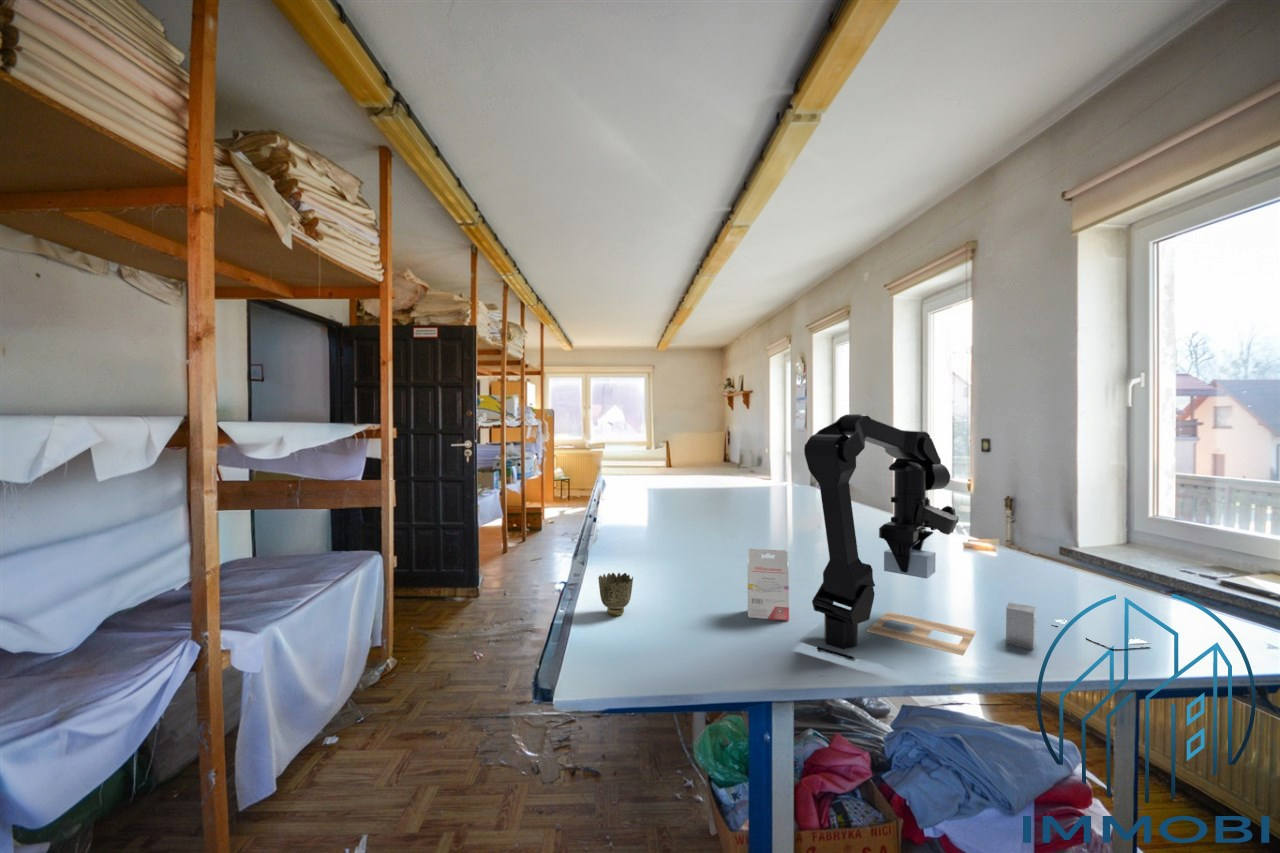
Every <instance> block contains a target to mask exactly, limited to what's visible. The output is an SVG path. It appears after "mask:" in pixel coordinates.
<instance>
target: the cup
mask: <svg viewBox="0 0 1280 853" xmlns="http://www.w3.org/2000/svg"><path fill="white" fill-rule="evenodd" d="M633 582H634V576H632V577H631V578H630V574H627V573H626V572H624V573H623V574H621V572H618V573H617V574H615V573H614V572H612V573H610V572H608V573H607V575H606V574H605V573H603V575H600V574H599V577H598V586H599V587H598V588H599V595H600V596H599V597H600V600H601V602H602V605H604V607H606V608H607V610H606V612H607V614H608V615H609V616H612V617H619V616H621V615H623V614H624V612H625V609H624V608H625V607H626V606H628V605H629V604H630V601H631V597H632V590H633Z"/></svg>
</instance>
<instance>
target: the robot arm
mask: <svg viewBox="0 0 1280 853" xmlns="http://www.w3.org/2000/svg"><path fill="white" fill-rule="evenodd" d="M866 442H868V443H870V444H873V445H875V446H878V447H882V448H884V452H885V454H888V455H889V456H890V457H892V458H894V459H895V461H894V462H893V463H892V464H890V465H889V467H888V470H889V471H892V472H894V474H893V476H894V477H893V478H894V479H893V489H894V490H893V496H891V497H890V502H891V503H893V516H891V517H890V521H888V522H886V523H883V525H881V526H879V528H878V538H879V539H882V540H884V541H886V543H887V545H888V547H889V549H891V551H892V553H893V555H894V557H895V559H896V562H897V564H898V566H899V568H900V570H901V572H905V573H906V572H908V567H909V562H910V556H911V551H912V549H916V550H922V548H923V545H924V542H925V540H926V539H927V538H929V537H931V535H933V534H934V531H936V530H938V531H939V532H940V533H942V534H944V535H947V536H948V535H951V534H952V533H953V532H954V531H955V528H956V526H957V524H958V523H959V520H960V518H959V515H957V514H956V508H955V507H952V506H950V505H945V506H944V507H942V508H941V509H940V508H939V507H934V506H932V505H931V500H930V499H929V497H928V496H927V497H926V491H935V490H941V489H944V488H946V487H947V486H948V485H949V484H950V482H951V474H950V472H949V471H950V470H948V467H946V465H944V464H942V461H941V457H940V455H939V453H938V451H937V449H936V445H935V443H934V441H933V439H932V438H931V436H930V434H929V433H928V432H927V431H923V430H905V429H904V430H903V429H899V428H897V427H894V426H892V425H889V424H887V423H884V422H882V421H879V420H876V419H874V418H872V417H870V416H869V415H866V414H865V413H864V414H860V413H859V414H855V413H854V414H844V415H842V416H841V417H839V418H838V419H837V420H836V421H835V422H833V423H831V424H829V425H827V426H825V427H823V428H821V429H819V430H818V431H817V432H816V433H815V434H813V435H811V436H810V437H809V438H808V440H807V442H806V443H805V444H804V448H803V451H804V457H805V460H806V461H805V462H806V464H807V465H806V466H807V468H808V471H809V473H811V475H812V476H813V479H814V480H816V482H817V483H818V485H819V491H820V498H821V504H822V512H823V519H824V527H825V534H826V535H825V536H826V542H827V549H828V556H829V560H828V561H827V564H826V566H825V568H824V570H823V573H822V578H823V579H822V583H821V585H820V587H819V588H818V590H817V592H816V593H815V595H814V596H813V598H812V600H811V603H812V607H813V611H814V612H818V613H821V614H824V615H823V617H824V619H823V620H824V626H823V627H824V628H823V633H824V634H823V636H824V637H823V638H824V639H823V640H824V642H825V646H831V647H834V648H836V649H841V650H845V649H852V648H853V649H854V648H856V647H857V646H858V644H859V643H858V641H859V631H858V630H859V624H862V623H864V622H867V621H870V618H871V614H872V609H873V603H874V599H875V591H874V590H875V589H874V587H876V584H875V581H874V577H873V574H874V573H873V571H874V570H873V568H872V565H871V564H868V563H865V562H864V563H863V562H862V561H861V559H860V558H859V557H860V556H859V551H858V545H857V544H858V543H857V537H856V536H857V535H856V529H855V528H856V526H855V520H854V513H853V506H852V505H853V504H852V497H851V489H850V480H851V478H852V476H853V474H854V472H855V470H856V469H857V468H856V467H857V457H858V456H859V454H861V452H862V451H863V450H864V449H865V447H866ZM928 528H930V531H929V530H927V529H928ZM834 603H837V604H840V605H843V606H845V607H848V608H849V609H848V608H845V607H843V606H839V605H837V604H834ZM850 608H851V609H850ZM816 649H817V650H819V651H822V652H826V653H828V654H833V655H836V656H840V657H842V658H847V659H849V660H854V659H855V658H856V657H855V656H852V655H848V654H844V653H841V652H837V651H834V650H831V649H827V648H824V647H821V646H820V647H819V646H816Z"/></svg>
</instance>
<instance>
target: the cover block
mask: <svg viewBox="0 0 1280 853" xmlns="http://www.w3.org/2000/svg"><path fill="white" fill-rule="evenodd" d="M883 571H884V572H889V573H895V574H899V575H905V576H910V577H917V578H921V579H929V578H930V577H931V576H933V575H934V574H935V573H936V552H933V551H930V550H929V551H928V550H922V549H921V550H916V549H912V551H911V556H910V562H909V567H908V572H906V573H905V572H901V570H900V568H899V566H898V564H897V562H896V559H895V557H894V555H893V553H892V551H891V549H890V548H888V549H886V550H884V551H883Z"/></svg>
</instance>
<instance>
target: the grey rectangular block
mask: <svg viewBox="0 0 1280 853" xmlns="http://www.w3.org/2000/svg"><path fill="white" fill-rule="evenodd" d="M1005 614H1006V615H1005V618H1006V620H1005V622H1006V623H1005V625H1006V626H1005V644H1006V645H1011V646H1014V647H1020V648H1024V649H1028V650H1032V651H1033V650H1034V649H1035V645H1036V606H1032V605H1028V604H1027V605H1026V604H1025V605H1024V604H1021V603H1015V602H1008V603H1007V605H1006V610H1005Z"/></svg>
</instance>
